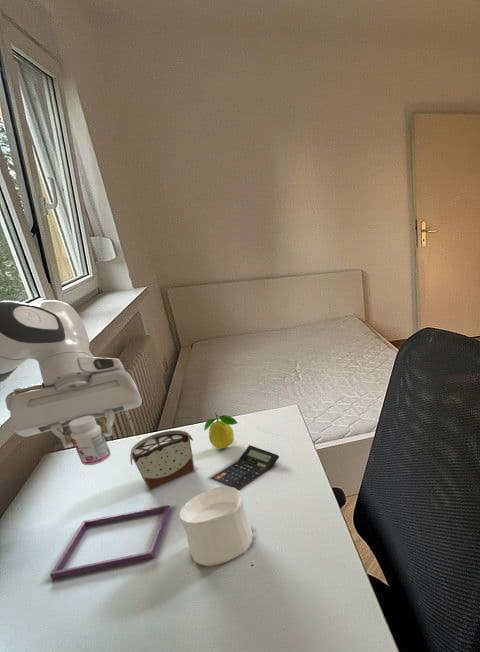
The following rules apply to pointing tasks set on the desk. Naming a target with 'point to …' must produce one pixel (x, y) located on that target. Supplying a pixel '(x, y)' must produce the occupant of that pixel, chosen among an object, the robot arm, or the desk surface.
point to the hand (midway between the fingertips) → (89, 440)
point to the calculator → (247, 468)
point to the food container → (163, 457)
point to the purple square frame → (60, 573)
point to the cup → (216, 526)
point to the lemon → (221, 431)
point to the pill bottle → (89, 440)
